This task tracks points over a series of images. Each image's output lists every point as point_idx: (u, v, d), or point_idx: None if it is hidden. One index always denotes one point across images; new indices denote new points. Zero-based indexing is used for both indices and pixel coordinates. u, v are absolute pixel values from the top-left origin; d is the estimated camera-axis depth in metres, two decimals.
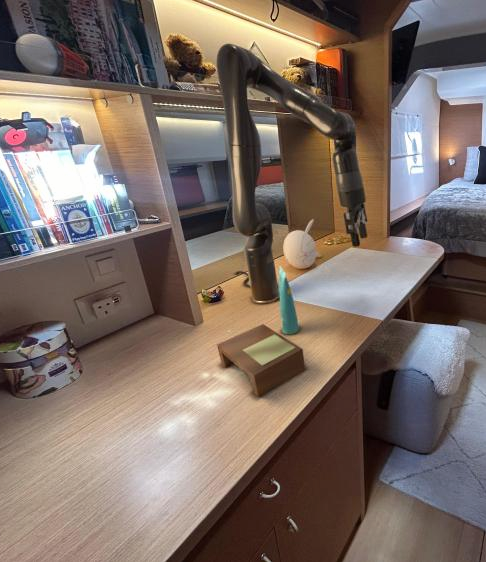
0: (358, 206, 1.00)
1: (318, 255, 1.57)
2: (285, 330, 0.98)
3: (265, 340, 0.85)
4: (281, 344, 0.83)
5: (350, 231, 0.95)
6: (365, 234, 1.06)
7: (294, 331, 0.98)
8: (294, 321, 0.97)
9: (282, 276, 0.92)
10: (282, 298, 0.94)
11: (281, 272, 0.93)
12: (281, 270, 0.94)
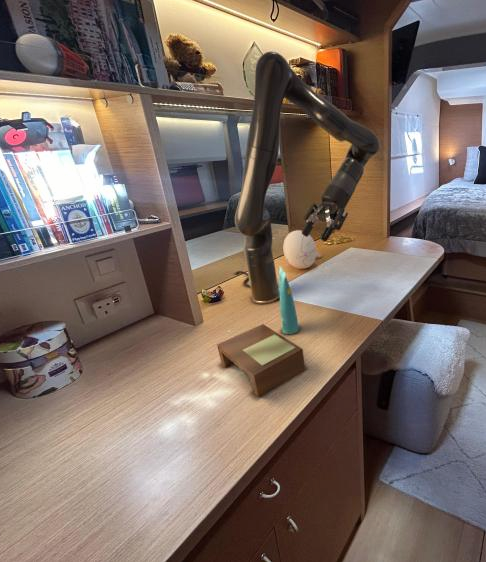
0: None
1: (318, 255, 1.57)
2: (285, 330, 0.98)
3: (265, 340, 0.85)
4: (281, 344, 0.83)
5: (337, 225, 0.94)
6: (308, 233, 1.01)
7: (294, 331, 0.98)
8: (294, 321, 0.97)
9: (282, 276, 0.92)
10: (282, 298, 0.94)
11: (281, 272, 0.93)
12: (281, 270, 0.94)
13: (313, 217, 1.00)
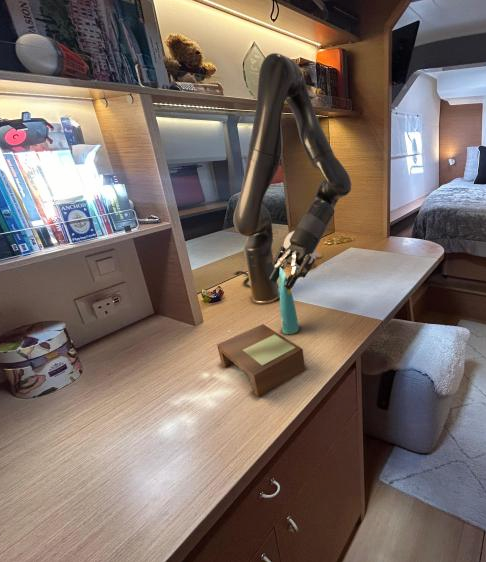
0: None
1: (318, 255, 1.57)
2: (285, 330, 0.98)
3: (265, 340, 0.85)
4: (281, 344, 0.83)
5: (302, 273, 0.90)
6: (276, 279, 0.96)
7: (294, 331, 0.98)
8: (294, 321, 0.97)
9: (282, 276, 0.92)
10: (282, 298, 0.94)
11: (281, 272, 0.93)
12: (281, 270, 0.94)
13: (281, 262, 0.95)
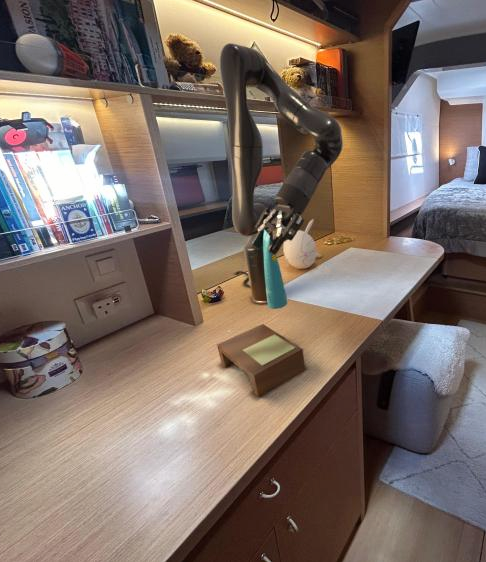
0: None
1: (318, 255, 1.57)
2: (271, 304, 0.85)
3: (265, 340, 0.85)
4: (281, 344, 0.83)
5: (289, 235, 0.77)
6: (260, 244, 0.83)
7: (281, 305, 0.85)
8: (281, 293, 0.84)
9: (266, 239, 0.79)
10: (266, 266, 0.81)
11: (265, 235, 0.80)
12: (265, 233, 0.81)
13: (265, 224, 0.82)
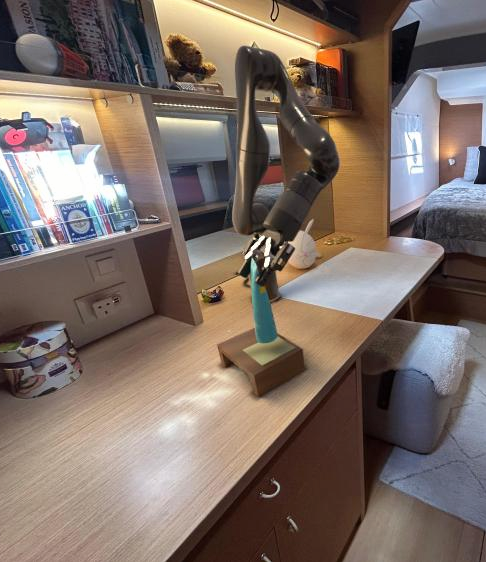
0: None
1: (318, 255, 1.57)
2: (259, 339, 0.78)
3: None
4: (281, 344, 0.83)
5: (278, 266, 0.70)
6: (247, 273, 0.76)
7: (271, 339, 0.78)
8: (271, 326, 0.77)
9: (253, 270, 0.71)
10: (254, 298, 0.73)
11: (252, 265, 0.73)
12: (253, 262, 0.73)
13: (253, 252, 0.75)
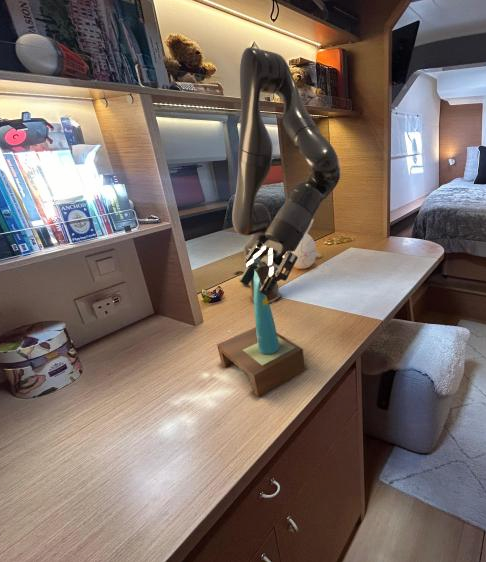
0: None
1: (318, 255, 1.57)
2: (261, 349, 0.79)
3: None
4: (281, 344, 0.83)
5: (282, 275, 0.70)
6: (249, 280, 0.77)
7: (273, 350, 0.79)
8: (273, 338, 0.78)
9: (256, 282, 0.73)
10: (256, 310, 0.74)
11: (255, 277, 0.74)
12: (255, 275, 0.75)
13: (254, 260, 0.76)
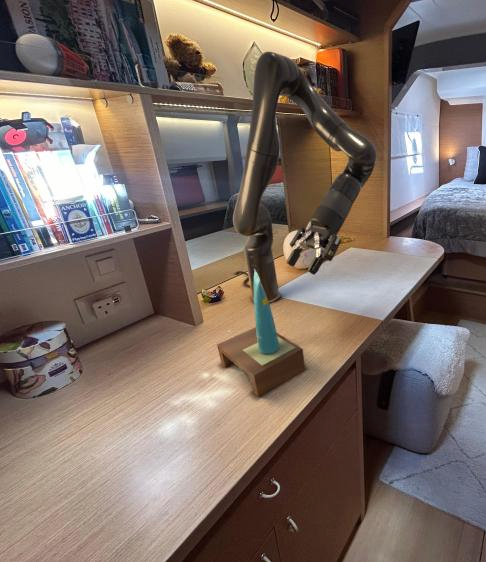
0: None
1: None
2: (261, 349, 0.79)
3: None
4: (281, 344, 0.83)
5: (329, 256, 0.78)
6: (294, 262, 0.85)
7: (273, 350, 0.79)
8: (273, 338, 0.78)
9: (256, 282, 0.73)
10: (256, 310, 0.74)
11: (255, 277, 0.74)
12: (255, 275, 0.75)
13: (300, 244, 0.84)
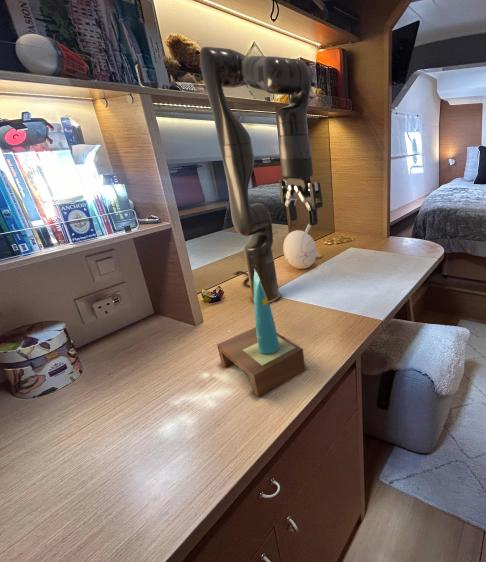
0: None
1: (318, 255, 1.57)
2: (261, 349, 0.79)
3: None
4: (281, 344, 0.83)
5: (318, 205, 0.81)
6: (295, 215, 0.90)
7: (273, 350, 0.79)
8: (273, 338, 0.78)
9: (256, 282, 0.73)
10: (256, 310, 0.74)
11: (255, 277, 0.74)
12: (255, 275, 0.75)
13: (289, 200, 0.87)
